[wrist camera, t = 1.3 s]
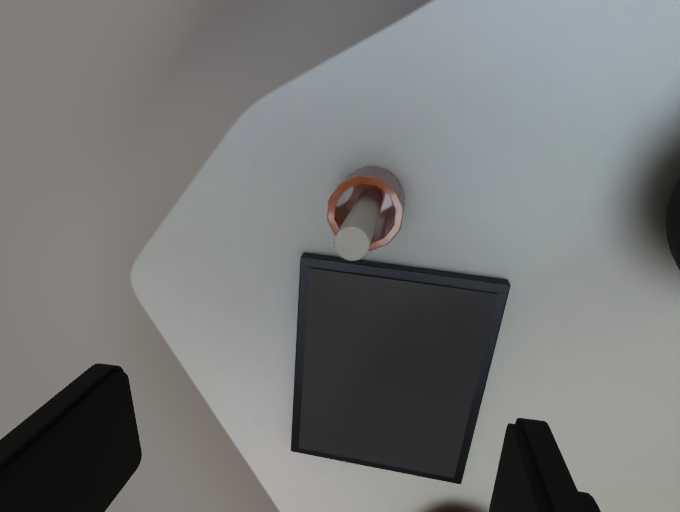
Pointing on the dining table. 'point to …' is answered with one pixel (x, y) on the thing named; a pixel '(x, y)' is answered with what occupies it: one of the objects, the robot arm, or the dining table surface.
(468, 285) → the tablet
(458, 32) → the dining table surface
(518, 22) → the dining table surface
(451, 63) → the dining table surface
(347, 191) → the pen cup
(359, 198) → the stylus
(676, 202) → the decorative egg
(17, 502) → the robot arm
